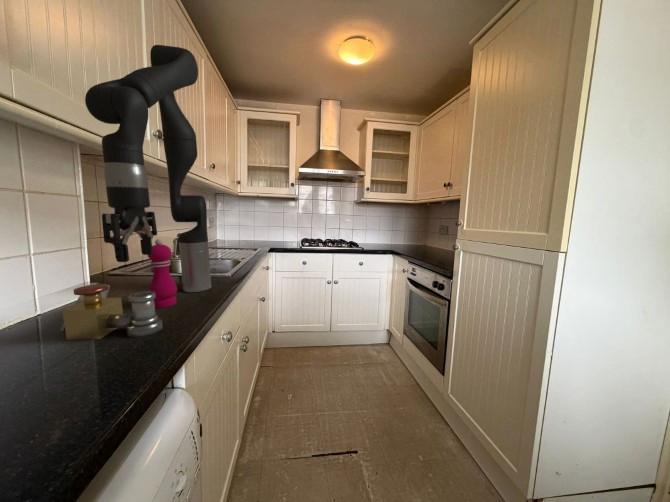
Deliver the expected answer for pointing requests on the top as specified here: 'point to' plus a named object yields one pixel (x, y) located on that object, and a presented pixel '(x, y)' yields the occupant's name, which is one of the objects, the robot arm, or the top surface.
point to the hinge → (80, 299)
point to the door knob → (143, 308)
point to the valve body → (100, 316)
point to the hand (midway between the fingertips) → (136, 257)
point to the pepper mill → (162, 276)
